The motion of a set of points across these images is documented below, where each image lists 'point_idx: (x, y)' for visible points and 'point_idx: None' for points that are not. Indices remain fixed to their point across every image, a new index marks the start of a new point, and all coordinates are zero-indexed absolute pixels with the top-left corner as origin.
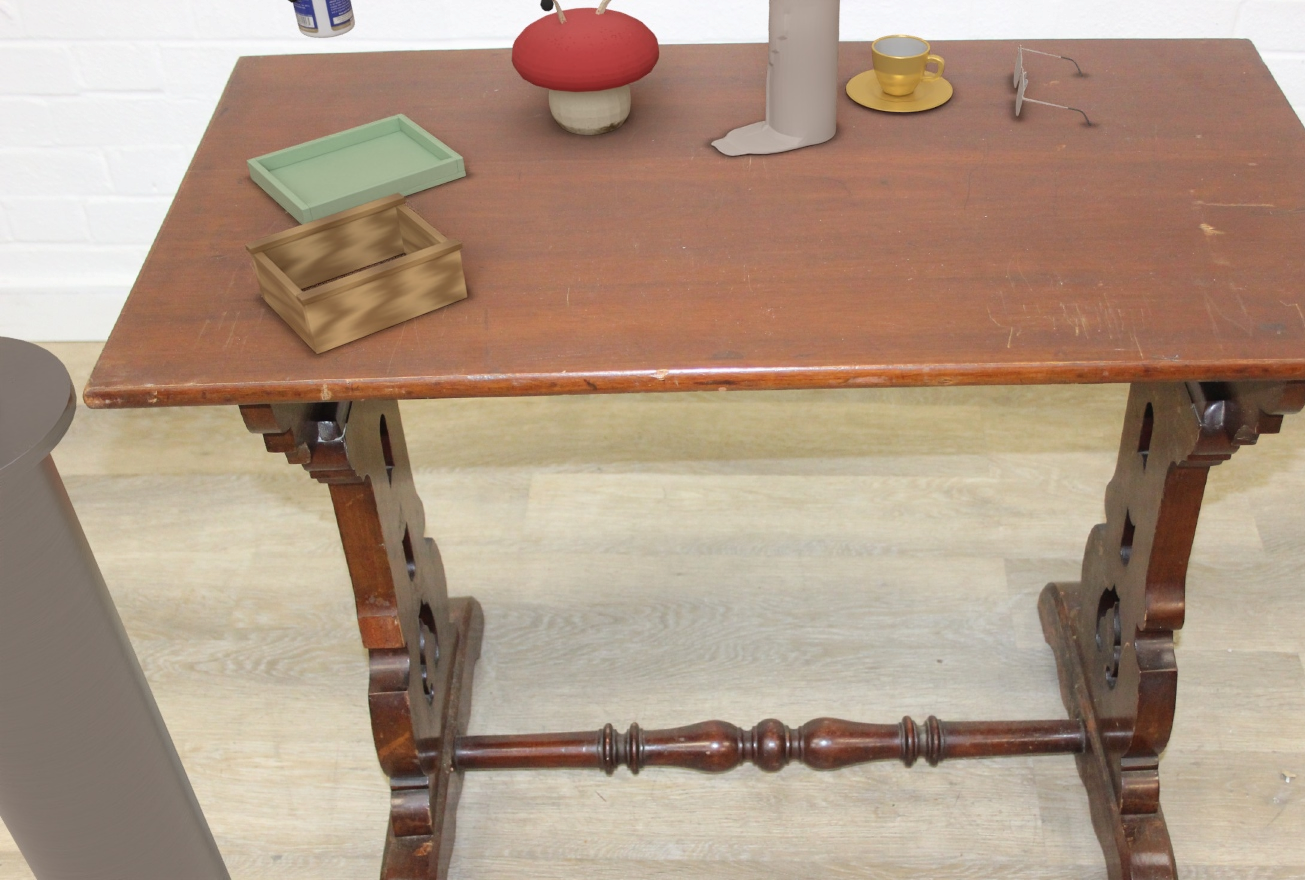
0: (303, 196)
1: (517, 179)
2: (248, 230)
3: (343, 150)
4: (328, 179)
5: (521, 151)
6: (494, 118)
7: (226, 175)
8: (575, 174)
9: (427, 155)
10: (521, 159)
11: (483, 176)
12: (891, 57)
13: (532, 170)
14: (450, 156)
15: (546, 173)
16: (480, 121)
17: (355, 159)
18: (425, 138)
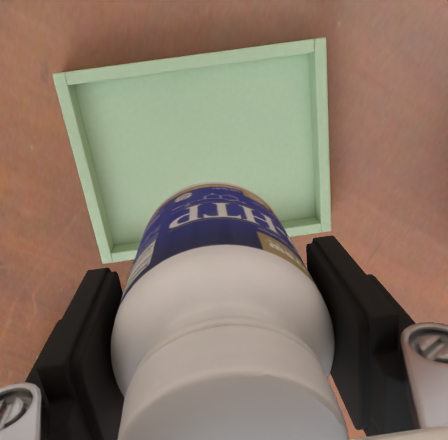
0: (119, 186)
1: (367, 257)
2: (39, 220)
3: (208, 74)
4: (162, 156)
5: (412, 193)
6: (443, 73)
7: (26, 37)
8: (425, 277)
9: (304, 157)
10: (399, 213)
11: (339, 231)
12: None
13: (393, 246)
14: (320, 216)
15: (402, 260)
16: (422, 71)
17: (214, 115)
18: (317, 145)
